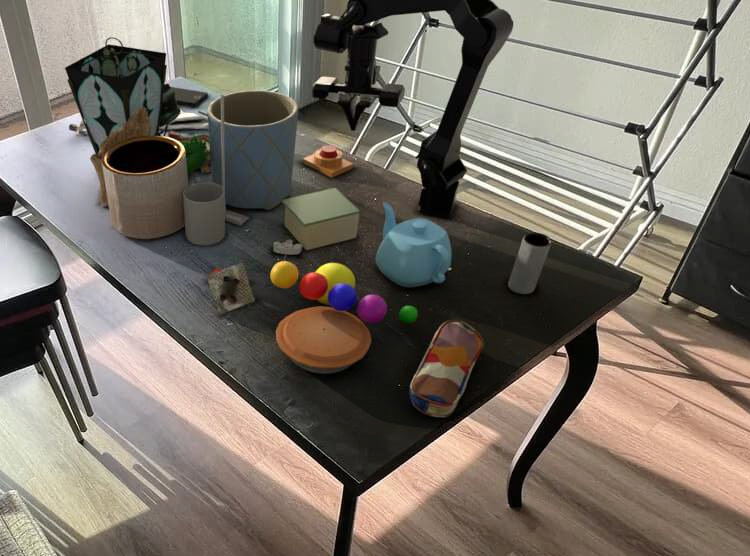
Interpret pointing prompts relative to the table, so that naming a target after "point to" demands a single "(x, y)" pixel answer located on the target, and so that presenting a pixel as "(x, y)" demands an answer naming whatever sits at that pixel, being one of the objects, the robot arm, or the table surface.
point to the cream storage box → (322, 230)
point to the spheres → (336, 290)
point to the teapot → (413, 251)
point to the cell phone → (189, 96)
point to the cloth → (188, 122)
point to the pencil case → (445, 369)
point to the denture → (174, 135)
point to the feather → (180, 129)
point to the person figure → (78, 128)
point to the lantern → (117, 88)
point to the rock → (132, 128)
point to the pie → (323, 339)
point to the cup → (204, 213)
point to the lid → (320, 207)
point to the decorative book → (205, 138)
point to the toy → (194, 156)
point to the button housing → (328, 163)
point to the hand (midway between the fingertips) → (353, 129)
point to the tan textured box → (230, 288)
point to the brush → (228, 216)
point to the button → (328, 151)
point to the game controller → (287, 248)
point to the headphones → (168, 108)
